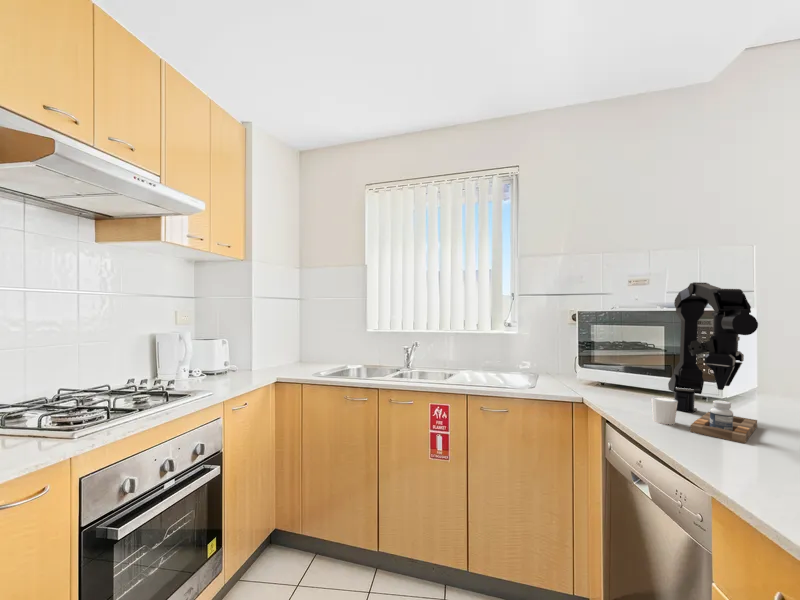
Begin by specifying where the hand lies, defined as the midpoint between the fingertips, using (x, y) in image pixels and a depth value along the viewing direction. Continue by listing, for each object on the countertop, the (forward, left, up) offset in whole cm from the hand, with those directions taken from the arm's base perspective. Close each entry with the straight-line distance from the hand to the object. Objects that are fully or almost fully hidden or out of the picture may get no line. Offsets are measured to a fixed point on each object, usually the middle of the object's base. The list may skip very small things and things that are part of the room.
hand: (723, 387), depth 119 cm
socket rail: (-5, 0, -13) cm, 14 cm away
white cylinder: (+1, -14, -13) cm, 19 cm away
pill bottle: (+1, 0, -13) cm, 13 cm away
